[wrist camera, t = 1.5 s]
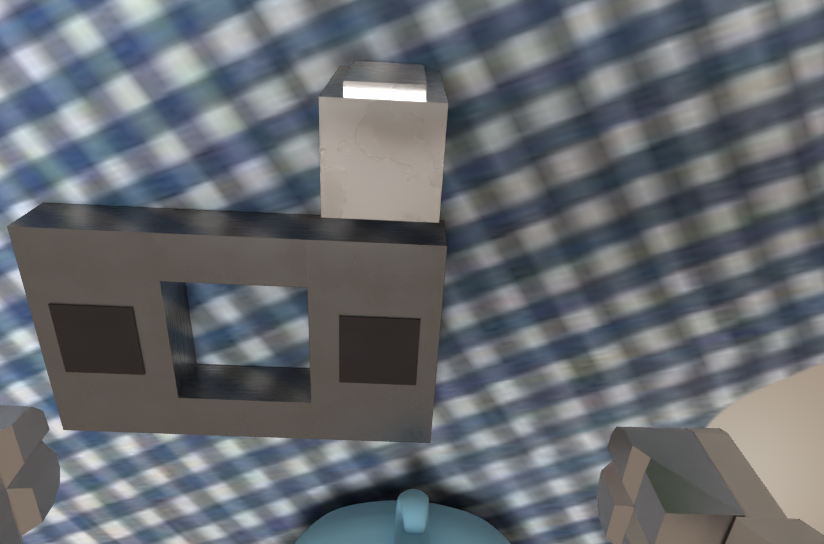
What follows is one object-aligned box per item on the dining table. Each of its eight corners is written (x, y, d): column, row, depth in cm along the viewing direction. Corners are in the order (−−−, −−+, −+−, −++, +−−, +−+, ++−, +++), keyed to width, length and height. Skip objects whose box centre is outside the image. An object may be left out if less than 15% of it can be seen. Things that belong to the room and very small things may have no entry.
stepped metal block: (440, 62, 27) (449, 91, 21) (432, 175, 29) (438, 232, 23) (339, 56, 27) (318, 84, 21) (339, 171, 29) (321, 227, 23)
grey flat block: (443, 221, 30) (447, 247, 28) (428, 407, 36) (430, 444, 33) (42, 202, 30) (5, 227, 27) (89, 394, 35) (62, 431, 33)
